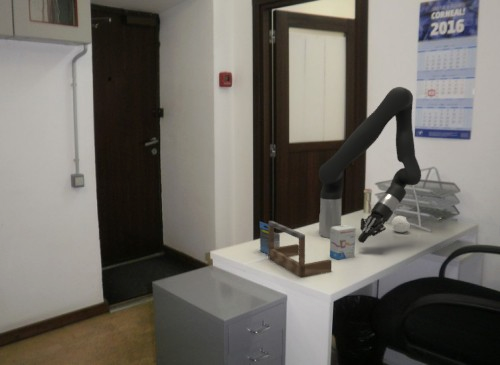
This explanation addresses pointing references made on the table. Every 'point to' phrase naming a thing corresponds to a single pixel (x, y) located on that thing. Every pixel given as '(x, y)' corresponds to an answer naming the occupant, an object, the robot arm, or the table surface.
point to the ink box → (342, 242)
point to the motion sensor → (400, 224)
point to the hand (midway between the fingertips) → (360, 241)
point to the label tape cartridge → (267, 238)
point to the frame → (283, 254)
